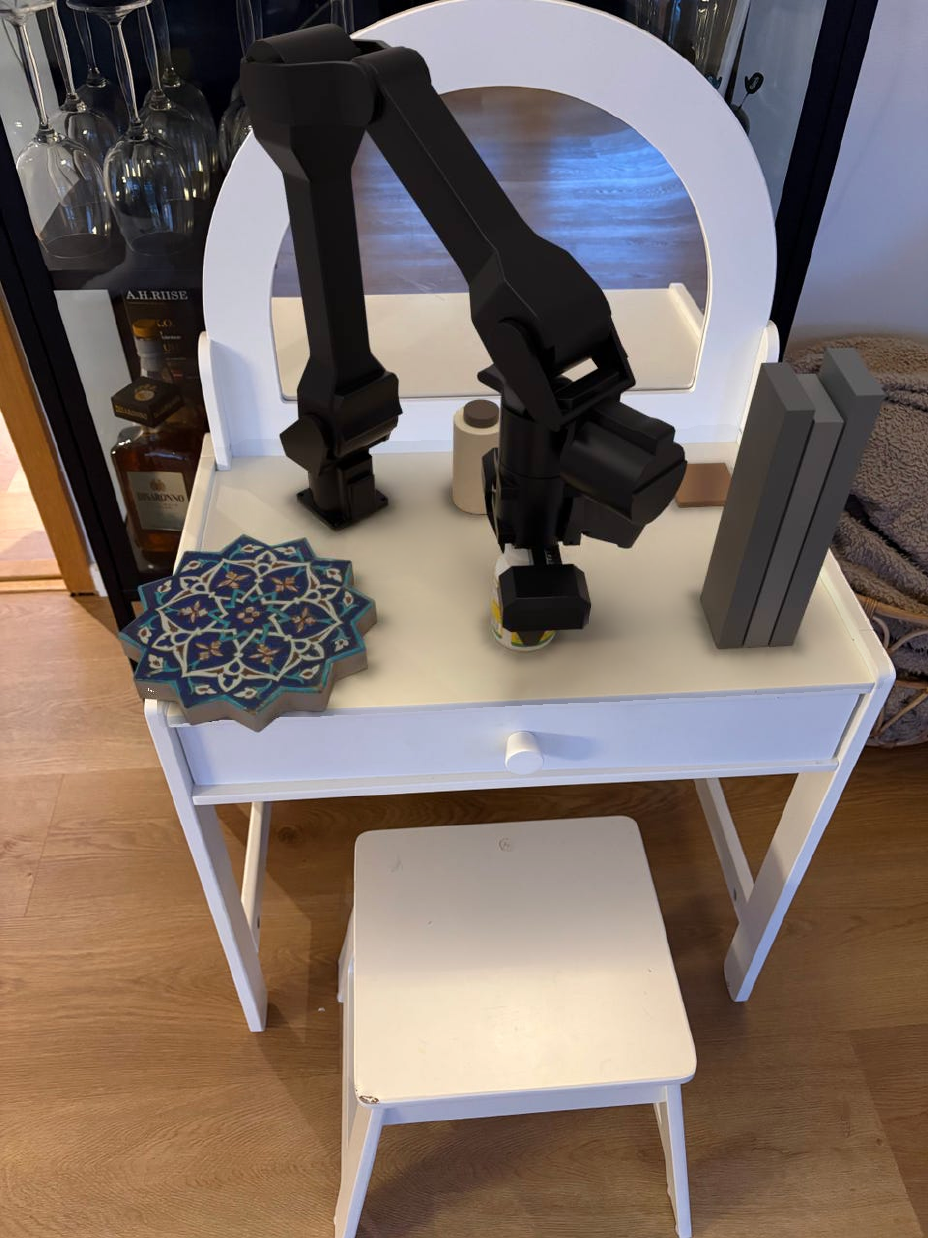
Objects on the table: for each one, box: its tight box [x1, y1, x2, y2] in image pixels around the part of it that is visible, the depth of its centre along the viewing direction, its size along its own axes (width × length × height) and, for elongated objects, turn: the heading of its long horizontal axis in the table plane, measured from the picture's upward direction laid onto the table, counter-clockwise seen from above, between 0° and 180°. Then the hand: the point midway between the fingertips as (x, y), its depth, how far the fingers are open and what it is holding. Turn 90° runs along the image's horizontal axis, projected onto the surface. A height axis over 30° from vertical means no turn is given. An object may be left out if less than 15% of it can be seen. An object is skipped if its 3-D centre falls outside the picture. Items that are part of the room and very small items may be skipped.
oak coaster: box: [674, 462, 732, 508], centre depth 96 cm, size 6×6×1 cm
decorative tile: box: [117, 533, 378, 733], centre depth 80 cm, size 20×20×2 cm
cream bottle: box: [452, 398, 500, 515], centre depth 91 cm, size 5×5×10 cm
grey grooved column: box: [699, 347, 886, 649], centre depth 75 cm, size 6×6×24 cm
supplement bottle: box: [490, 544, 556, 652], centre depth 78 cm, size 5×5×10 cm
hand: (525, 611), depth 80 cm, fingers open, 7 cm apart
